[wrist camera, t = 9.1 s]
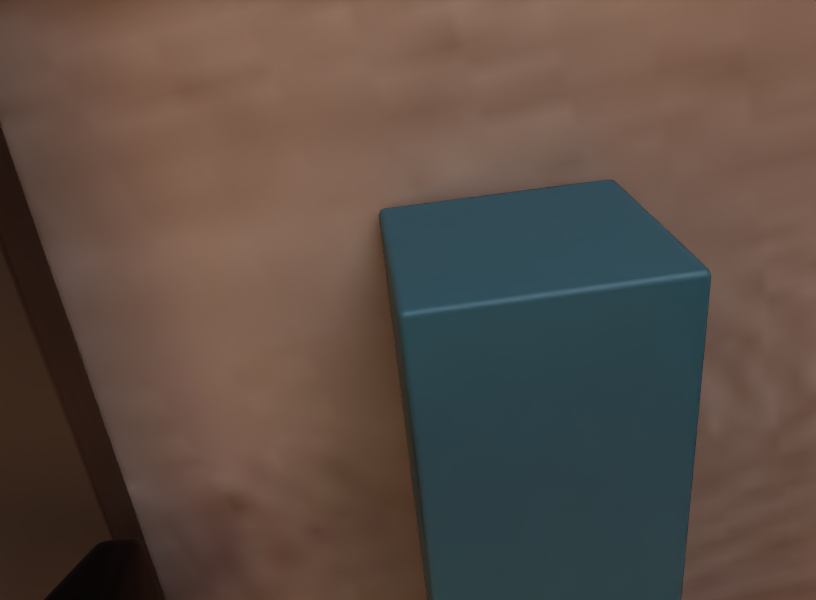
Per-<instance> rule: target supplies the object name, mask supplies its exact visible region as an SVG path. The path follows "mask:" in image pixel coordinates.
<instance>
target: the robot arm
mask: <svg viewBox="0 0 816 600" xmlns="http://www.w3.org/2000/svg"><path fill="white" fill-rule="evenodd" d="M44 600H161V596H160V591H159V588H158V585H157V582H156V579H155V576H154V573H153V570H152V568H151V565H150V562H149V559H148V556H147V553H146V550H145V548H144V545H143V544H142V542H141V541H140V540H139V539H137V538H134V537H130V538H123V539H116V540H109V541H104V542H101V543H99V544H97V545H96V546H95V547H93V548H92V549H91V550H90V551H89V553H88V554H87V555H86V556H85V557H84V558H83V559H82V560H81V561H80V562H79V563H78V564H77V565H76V566H75V567H74V568H73V569H72V570H71V571H70V573H69V574H68V575H67V576H66V577H65V578H64V579H63V580H62V581H61V582H60V583H59V584H58V585H57V586H56V587H55V588H54V589H53V590H52V591H51V592H50V594H49V595H48V596H47V597H46V598H45V599H44Z"/></svg>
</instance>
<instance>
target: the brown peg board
mask: <svg viewBox="0 0 816 600" xmlns="http://www.w3.org/2000/svg"><path fill="white" fill-rule="evenodd" d="M130 537H134V538H137V539H139V540H140V541H141V542H142V544H143V545H144V548H145V550H146V553H147V556H148V559H149V562H150V565H151V568H152V570H153V573H154V576H155V579H156V582H157V585H158V588H159V591H160V596H161V600H165V599H164V596H163V593H162V590H161V587H160V584H159V582H158V579H157V576H156V573H155V570H154V567H153V564H152V562H151V559H150V556H149V553H148V550H147V547H146V544H145V541H144V539H143V536H142V533H141V530H140V527H139V524H138V521H137V518H136V516H135V513H134V510H133V507H132V504H131V501H130V498H129V495H128V493H127V490H126V487H125V484H124V481H123V478H122V475H121V472H120V470H119V467H118V464H117V461H116V458H115V455H114V452H113V449H112V447H111V444H110V441H109V438H108V435H107V432H106V429H105V426H104V424H103V421H102V418H101V415H100V412H99V409H98V406H97V404H96V401H95V398H94V395H93V392H92V389H91V386H90V383H89V381H88V378H87V375H86V372H85V369H84V366H83V363H82V360H81V358H80V355H79V352H78V349H77V346H76V343H75V340H74V337H73V335H72V332H71V329H70V326H69V323H68V320H67V317H66V314H65V312H64V309H63V306H62V303H61V300H60V297H59V294H58V291H57V289H56V286H55V283H54V280H53V277H52V274H51V271H50V268H49V266H48V263H47V260H46V257H45V254H44V251H43V248H42V246H41V243H40V240H39V237H38V234H37V231H36V228H35V225H34V223H33V220H32V217H31V214H30V211H29V208H28V205H27V202H26V200H25V197H24V194H23V191H22V188H21V185H20V182H19V179H18V177H17V174H16V171H15V168H14V165H13V162H12V159H11V156H10V154H9V151H8V148H7V145H6V142H5V139H4V136H3V133H2V131H1V128H0V600H44V599H45V598H46V597H47V596H48V595H49V594H50V592H51V591H52V590H53V589H54V588H55V587H56V586H57V585H58V584H59V583H60V582H61V581H62V580H63V579H64V578H65V577H66V576H67V575H68V574H69V573H70V571H71V570H72V569H73V568H74V567H75V566H76V565H77V564H78V563H79V562H80V561H81V560H82V559H83V558H84V557H85V556H86V555H87V554H88V553H89V551H90V550H91V549H92V548H93V547H95V546H96V545H97V544H99V543H101V542H104V541H109V540H116V539H123V538H130Z"/></svg>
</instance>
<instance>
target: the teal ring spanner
mask: <svg viewBox="0 0 816 600" xmlns="http://www.w3.org/2000/svg"><path fill="white" fill-rule="evenodd" d="M379 221H380V229H381V237H382V245H383V253H384V261H385V269H386V277H387V285H388V293H389V301H390V309H391V317H392V325H393V333H394V341H395V349H396V356H397V364H398V372H399V380H400V388H401V396H402V404H403V412H404V420H405V428H406V436H407V444H408V452H409V460H410V468H411V476H412V484H413V492H414V500H415V508H416V516H417V524H418V532H419V540H420V548H421V556H422V564H423V572H424V580H425V588H426V596H427V600H681V595H682V585H683V574H684V563H685V552H686V542H687V531H688V520H689V509H690V499H691V488H692V477H693V466H694V456H695V445H696V434H697V423H698V413H699V402H700V391H701V380H702V370H703V359H704V348H705V337H706V327H707V316H708V305H709V294H710V284H711V274H710V271H709V269H708V268H707V267H706V266H705V265H704V264H702V263H701V262H700V261H699V260H698V259H697V258H696V257H695V256H694V255H693V254H692V253H691V252H690V251H689V250H688V249H687V248H685V247H684V246H683V245H682V244H681V243H680V242H679V241H678V240H677V239H676V238H675V237H674V236H673V235H672V234H671V233H670V232H668V231H667V230H666V229H665V228H664V227H663V226H662V225H661V224H660V223H659V222H658V221H657V220H656V219H655V218H654V217H653V216H651V215H650V214H649V213H648V212H647V211H646V210H645V209H644V208H643V207H642V206H641V205H640V204H639V203H638V202H637V201H636V200H634V199H633V198H632V197H631V196H630V195H629V194H628V193H627V192H626V191H625V190H624V189H623V188H622V187H621V186H620V185H619V184H617V183H616V182H615V181H614V180H602V181H595V182H587V183H579V184H571V185H564V186H556V187H548V188H540V189H533V190H525V191H517V192H509V193H502V194H494V195H486V196H479V197H471V198H463V199H455V200H448V201H440V202H432V203H424V204H417V205H409V206H401V207H393V208H386V209H383V210H381V211H380V213H379Z"/></svg>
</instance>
